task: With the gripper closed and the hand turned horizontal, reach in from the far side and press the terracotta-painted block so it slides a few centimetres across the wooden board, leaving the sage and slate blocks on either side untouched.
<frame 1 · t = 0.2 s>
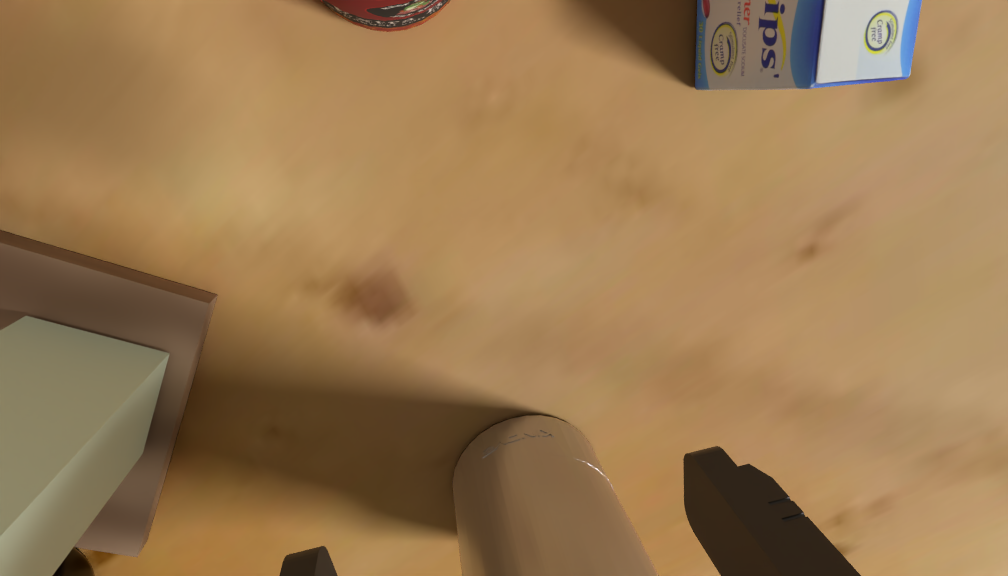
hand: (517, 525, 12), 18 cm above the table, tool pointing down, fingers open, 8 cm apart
supplement bottle: (35, 573, 30), on the table
medicine box: (733, 3, 26), on the table
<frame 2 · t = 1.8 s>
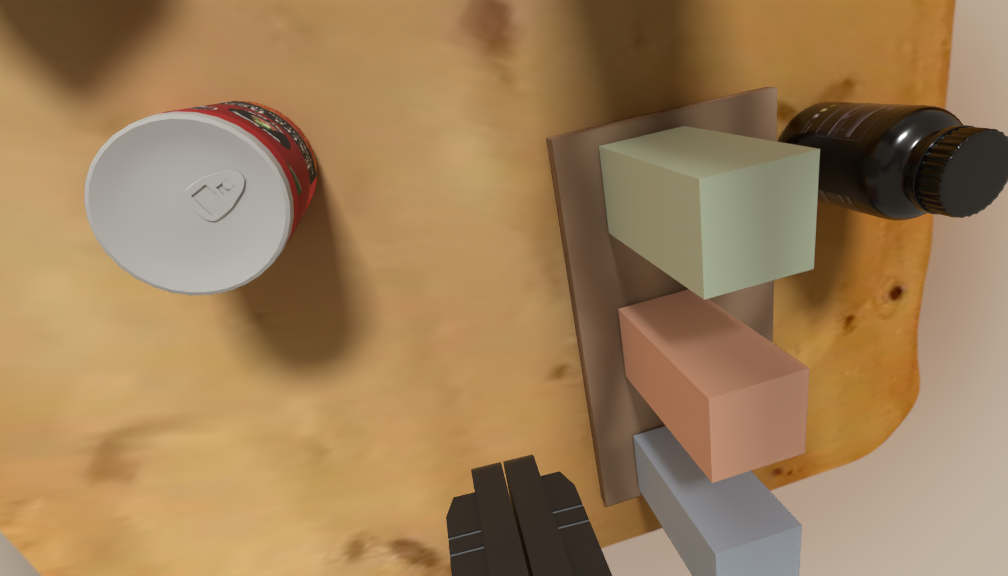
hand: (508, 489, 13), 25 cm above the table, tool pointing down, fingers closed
supplement bottle: (809, 148, 40), on the table
wooden board: (672, 318, 42), on the table
terracotta block: (701, 373, 35), point 8 cm above the table, slide at 0.0 cm
sage block: (692, 199, 30), point 7 cm above the table, slide at 0.0 cm
slate block: (707, 504, 40), point 8 cm above the table, slide at 0.0 cm
canned food: (251, 167, 32), on the table
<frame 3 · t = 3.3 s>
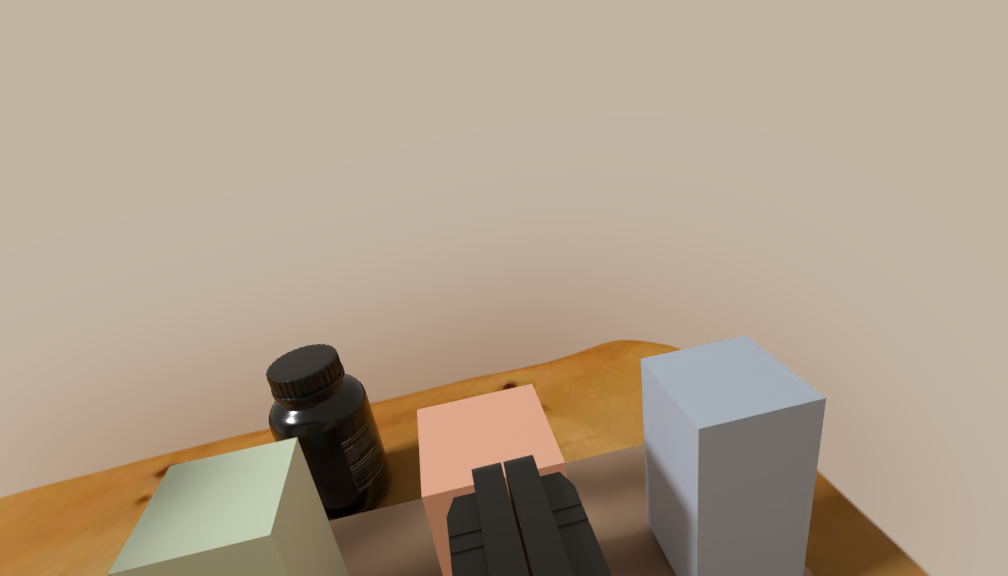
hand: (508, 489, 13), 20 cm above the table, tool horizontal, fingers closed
supplement bottle: (349, 493, 41), on the table
terracotta block: (502, 527, 27), point 7 cm above the table, slide at 0.0 cm
slate block: (721, 471, 28), point 7 cm above the table, slide at 0.0 cm
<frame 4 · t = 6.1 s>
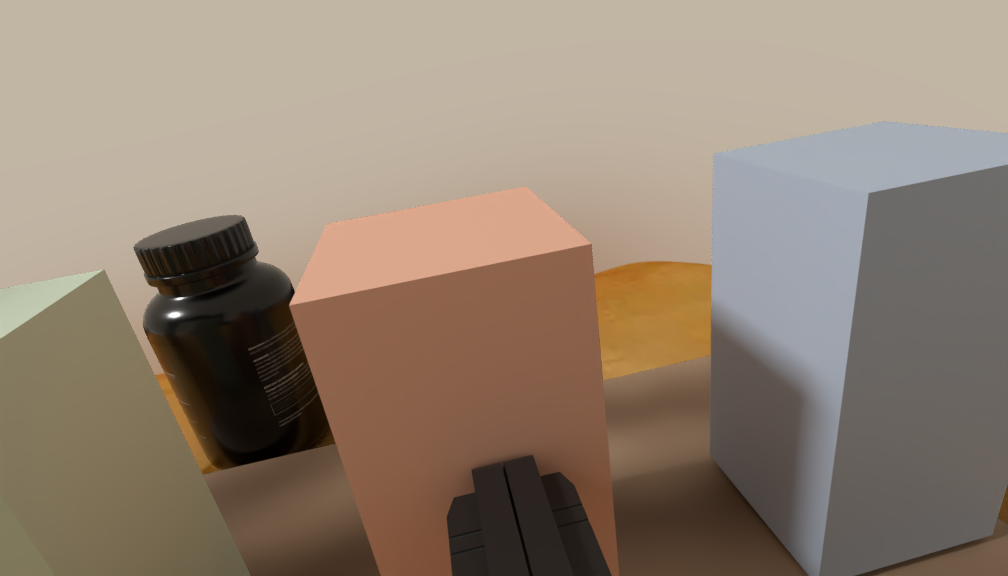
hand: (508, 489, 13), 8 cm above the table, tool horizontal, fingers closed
supplement bottle: (275, 436, 30), on the table
wooden board: (503, 561, 20), on the table
terracotta block: (475, 427, 15), point 8 cm above the table, slide at 0.4 cm, touching gripper
sage block: (25, 544, 14), point 7 cm above the table, slide at 0.0 cm
slate block: (852, 344, 17), point 8 cm above the table, slide at 0.0 cm
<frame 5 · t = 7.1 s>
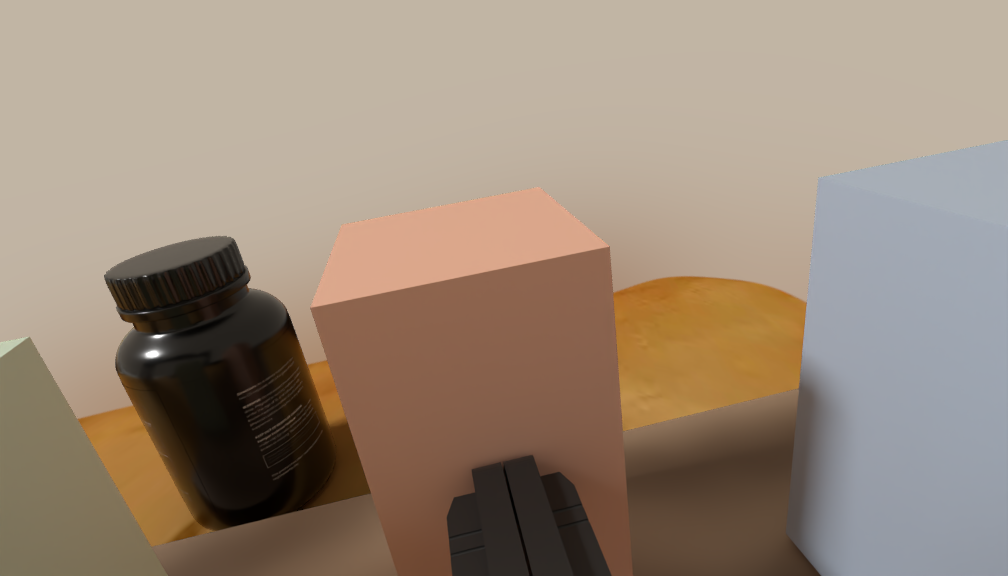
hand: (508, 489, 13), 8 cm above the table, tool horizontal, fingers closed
supplement bottle: (269, 485, 26), on the table
terracotta block: (489, 426, 16), point 8 cm above the table, slide at 4.4 cm, touching gripper
slate block: (996, 422, 13), point 7 cm above the table, slide at 0.0 cm
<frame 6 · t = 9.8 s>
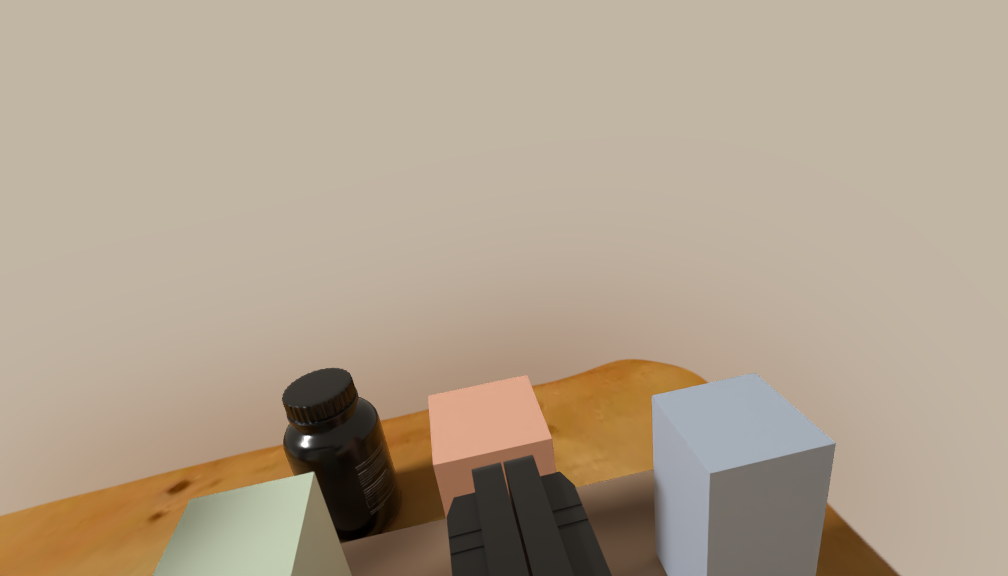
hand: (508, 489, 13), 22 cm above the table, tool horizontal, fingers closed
supplement bottle: (359, 513, 42), on the table
terracotta block: (499, 497, 31), point 8 cm above the table, slide at 4.5 cm
slate block: (730, 507, 29), point 7 cm above the table, slide at 0.0 cm
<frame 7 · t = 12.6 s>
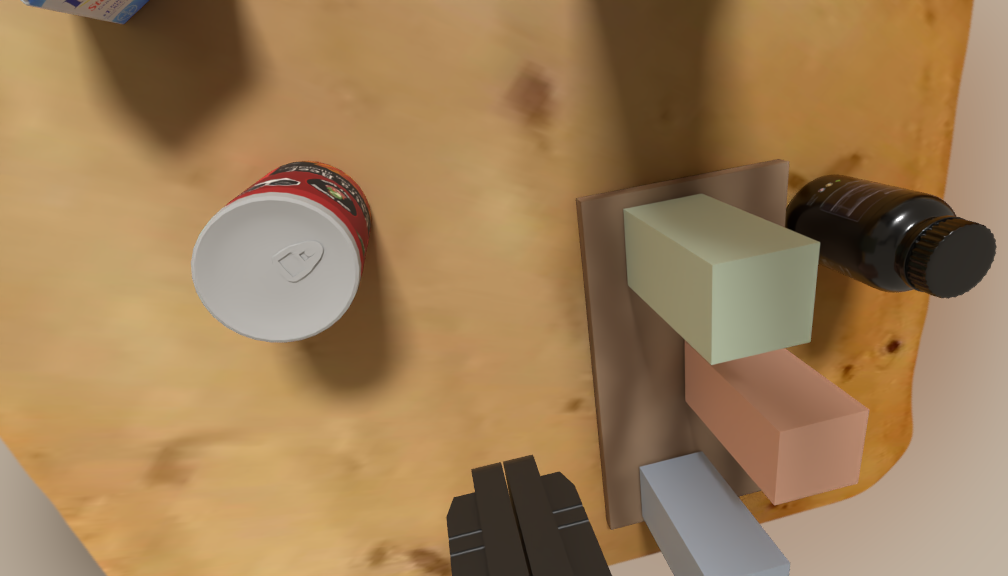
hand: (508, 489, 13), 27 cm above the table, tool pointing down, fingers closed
supplement bottle: (817, 214, 43), on the table
wooden board: (682, 361, 46), on the table
terracotta block: (762, 404, 39), point 7 cm above the table, slide at 4.5 cm
sage block: (706, 267, 34), point 7 cm above the table, slide at 0.0 cm
slate block: (705, 536, 44), point 7 cm above the table, slide at 0.0 cm
canned food: (312, 216, 36), on the table
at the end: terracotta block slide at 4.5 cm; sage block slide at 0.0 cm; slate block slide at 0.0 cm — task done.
